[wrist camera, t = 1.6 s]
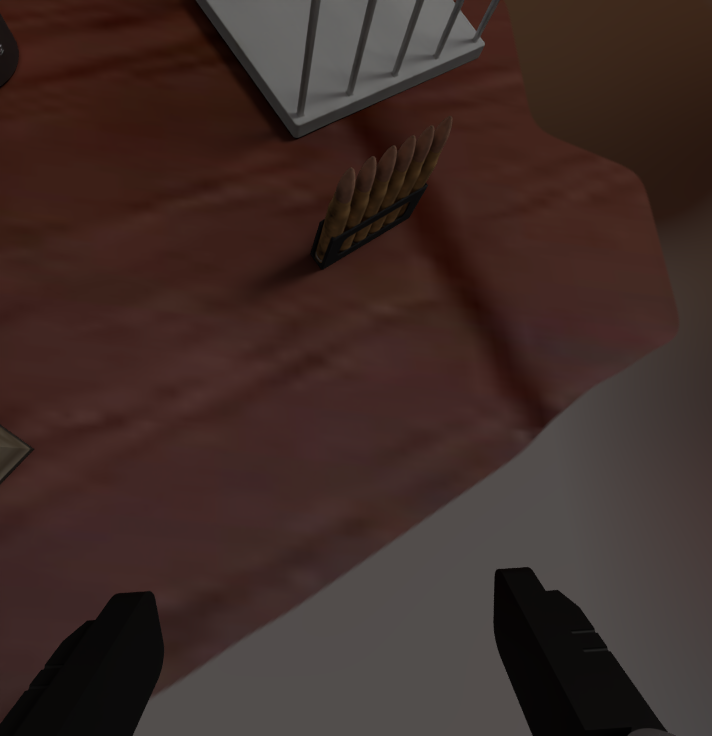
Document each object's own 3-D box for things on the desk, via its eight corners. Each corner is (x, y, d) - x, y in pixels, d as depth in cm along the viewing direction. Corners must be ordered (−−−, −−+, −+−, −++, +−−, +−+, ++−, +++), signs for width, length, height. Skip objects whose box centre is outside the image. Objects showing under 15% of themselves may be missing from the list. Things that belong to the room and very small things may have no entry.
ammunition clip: (398, 202, 41) (452, 101, 30) (410, 217, 41) (468, 122, 29) (309, 253, 38) (331, 163, 26) (321, 270, 38) (348, 186, 26)
